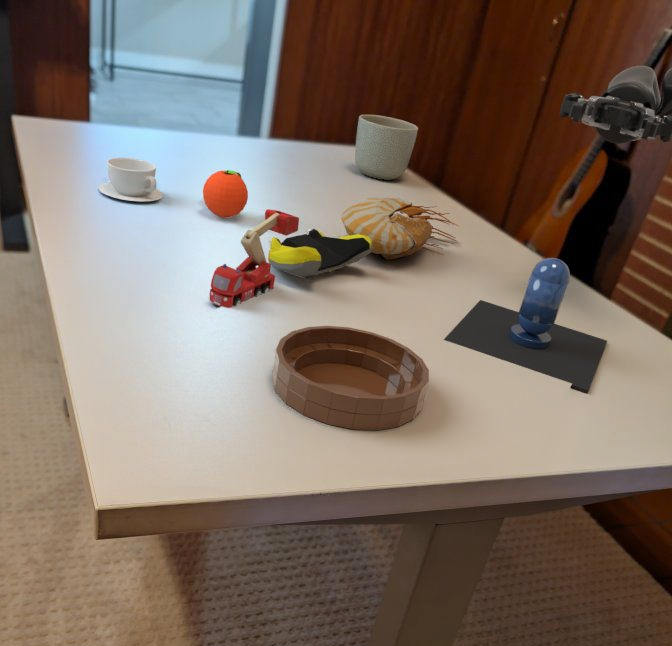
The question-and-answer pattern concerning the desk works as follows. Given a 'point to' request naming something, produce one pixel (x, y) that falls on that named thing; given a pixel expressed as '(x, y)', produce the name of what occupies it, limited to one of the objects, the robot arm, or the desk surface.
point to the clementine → (225, 193)
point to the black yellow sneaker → (316, 253)
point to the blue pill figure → (541, 303)
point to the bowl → (349, 377)
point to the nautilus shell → (392, 225)
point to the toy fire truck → (250, 264)
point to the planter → (384, 146)
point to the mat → (556, 360)
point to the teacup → (131, 180)
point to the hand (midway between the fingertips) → (612, 121)
